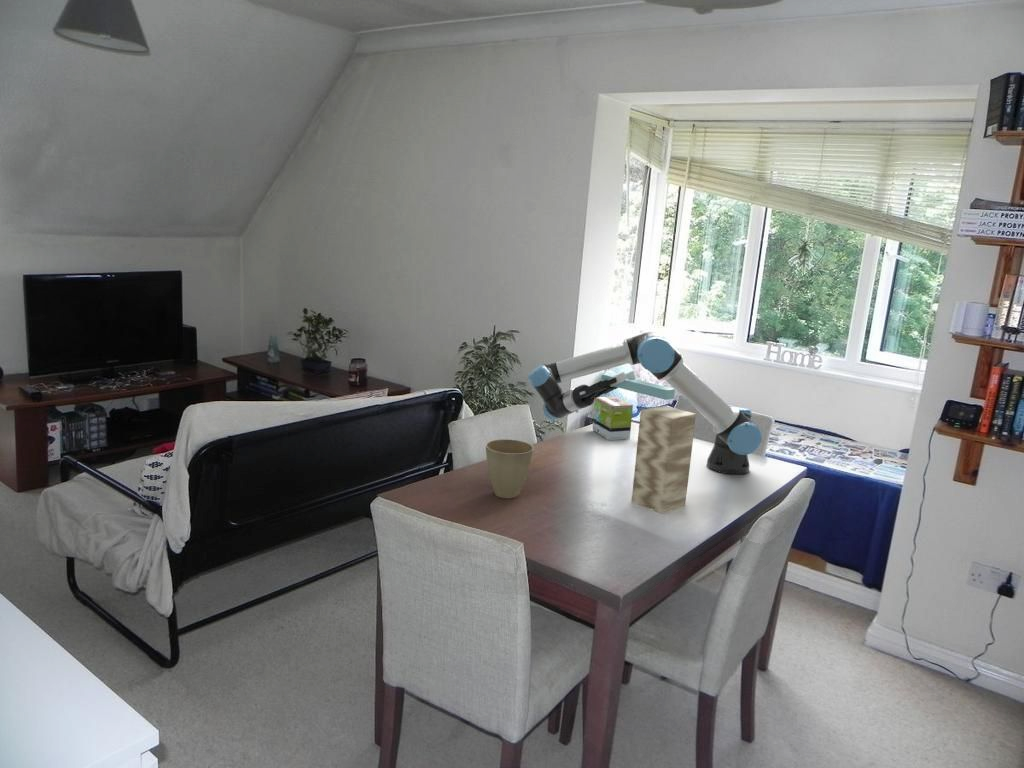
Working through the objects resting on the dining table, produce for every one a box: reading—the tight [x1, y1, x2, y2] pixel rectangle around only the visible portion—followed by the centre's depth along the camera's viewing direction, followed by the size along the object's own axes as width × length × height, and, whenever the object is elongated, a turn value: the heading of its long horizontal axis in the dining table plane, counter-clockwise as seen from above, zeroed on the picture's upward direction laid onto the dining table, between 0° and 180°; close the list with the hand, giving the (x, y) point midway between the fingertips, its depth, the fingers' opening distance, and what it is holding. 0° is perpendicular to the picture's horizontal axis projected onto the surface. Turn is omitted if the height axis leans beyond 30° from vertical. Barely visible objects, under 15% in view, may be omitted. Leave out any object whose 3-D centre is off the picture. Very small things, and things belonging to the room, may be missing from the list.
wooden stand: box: [631, 405, 697, 515], centre depth 245 cm, size 12×12×30 cm
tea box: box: [592, 395, 634, 441], centre depth 323 cm, size 15×10×15 cm
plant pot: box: [485, 438, 534, 499], centre depth 245 cm, size 15×15×16 cm
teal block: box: [600, 373, 676, 401], centre depth 249 cm, size 26×4×3 cm, turn 43°
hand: (629, 375), depth 251 cm, fingers closed on teal block, 4 cm apart
